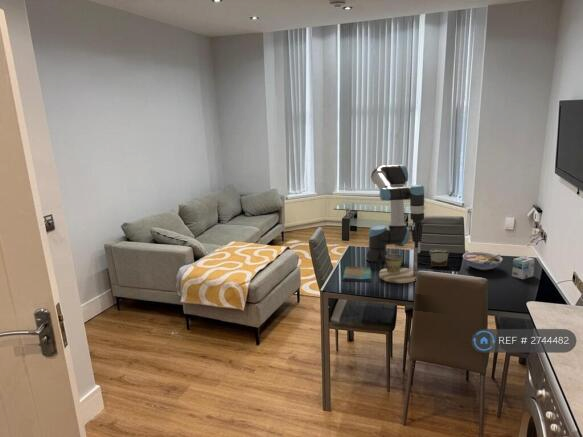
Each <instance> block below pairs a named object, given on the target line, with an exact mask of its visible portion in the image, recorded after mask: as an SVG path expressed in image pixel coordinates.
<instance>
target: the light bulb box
mask: <svg viewBox="0 0 583 437" xmlns="http://www.w3.org/2000/svg"><path fill="white" fill-rule="evenodd" d="M535 260H536V259H535V258H532V257H529V256H527V255H526V256H525V255H523V256H520V257H517V258H513V261H512V272H511V273H512V274H511V276H512V277H514V278H517V279H521V280H525V279H528V278H531V277H534V273H535V272H534V270H535Z"/></svg>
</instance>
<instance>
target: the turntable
mask: <svg viewBox="0 0 583 437" xmlns="http://www.w3.org/2000/svg"><path fill="white" fill-rule="evenodd" d="M412 268H413V269H411V268H407V267H400V272H399V273H398V274H389V273H388V271H387V267H385V268H382V269H381V270H379V272H378V273H379V274H378V277H379V278H380V279H381V280H383V281H385V282H389V283H392V284H408V283H412V282H415V281H416V280H417V279H416V273H417V274H418V253H417V248H416V247H415V246H414V247H413V267H412ZM415 279H416V280H415Z"/></svg>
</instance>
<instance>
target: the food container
mask: <svg viewBox="0 0 583 437" xmlns="http://www.w3.org/2000/svg"><path fill="white" fill-rule="evenodd" d="M428 253H429V255H430V263H431V265H430V266H431V267H435V266H436V267H437V266H438V267H447V263H448V258H449V255H450V251H449V250H448V249H445V248H431V249H430V250H429V252H428Z"/></svg>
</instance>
